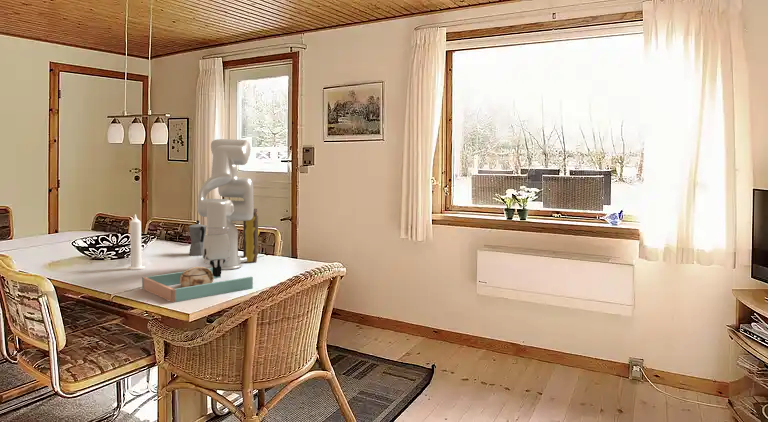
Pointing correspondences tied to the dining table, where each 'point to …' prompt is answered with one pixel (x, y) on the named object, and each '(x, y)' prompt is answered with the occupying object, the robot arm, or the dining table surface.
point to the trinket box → (196, 277)
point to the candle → (135, 245)
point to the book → (250, 239)
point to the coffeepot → (197, 238)
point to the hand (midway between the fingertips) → (216, 276)
